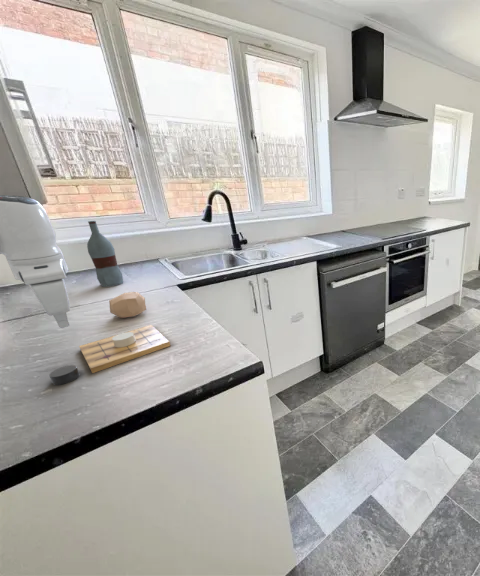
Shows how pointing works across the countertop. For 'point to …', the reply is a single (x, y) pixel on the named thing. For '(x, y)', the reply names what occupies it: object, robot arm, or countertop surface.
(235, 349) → the countertop surface
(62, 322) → the robot arm
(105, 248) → the bottle
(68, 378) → the black stone
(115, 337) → the cream stone
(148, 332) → the board
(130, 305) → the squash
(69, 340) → the countertop surface
